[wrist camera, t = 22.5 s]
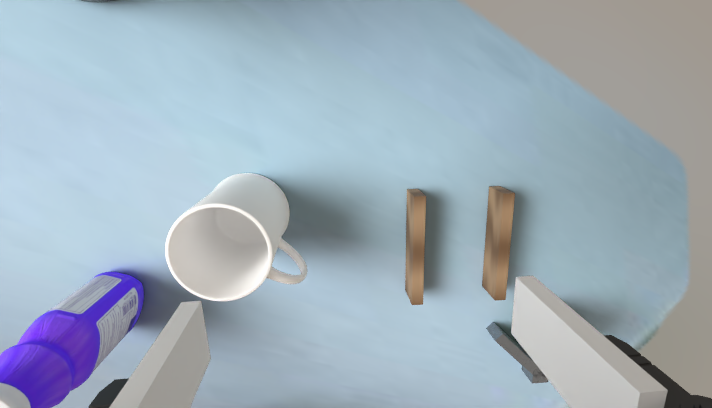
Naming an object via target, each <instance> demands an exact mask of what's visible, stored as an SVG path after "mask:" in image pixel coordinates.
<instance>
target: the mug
mask: <svg viewBox="0 0 712 408" xmlns="http://www.w3.org/2000/svg"><path fill="white" fill-rule="evenodd" d="M289 217H290V210H289V204H288V201H287V198H286V196H285V194H284V193H283V191H282V190H281V189H280V188H279V186H278V185H276V184H275V183H274V182H273V181H271V180H270V179H268V178H266V177H264V176H261V175H258V174H253V173H241V174H236V175H233V176H230V177H228V178H226V179H224V180H223V181H222V182H220V183H219V184H218V185H217V186H216V188H215V189H214V190H213V192H211V193H210V194H209V195H207V196H206V197H205V198H203V199H202V200H201V201H199V202H198V203H197V204H195V205H194V206H193V207H191V208H190V209H189V210H188V211H186V212H185V213H184V214H182V215H181V216H180V217H179V218H178V219H177V220H176V221H175V223H174V224H173V225H172V227H171V229H170V231H169V233H168V236H167V239H166V245H165V255H166V260H167V264H168V267H169V269H170V271H171V273H172V275H173V276H174V278H175V279H176V280H177V281H178V282H179V284H180V285H181V286H183V287H184V288H185V289H186V290H188V291H189V292H191V293H192V294H194V295H196V296H199V297H201V298H204V299H208V300H212V301H231V300H236V299H239V298H242V297H245V296H247V295H249V294H250V293H252V292H253V291H255V290H256V289H257V288H258V287H259V286H260V285H261V284H262V283H263V282H264V280H265V279H266V278H269V279H272V280H275V281H277V282H281V283H285V284H297V283H300V282H301V281H303V280H304V278H305V277H306V275H307V266H306V263H305V261H304V260H303V258H302V257H301V256H300V254H299V253H298V252H297V251H296V250H295V249H294V248H293V247H292V246H291V245H289V244H288V243H287V242H286V241H284V240H283V239H282V238H281V236H282V235H283V234H284V232H285V230H286V228H287V226H288V223H289ZM277 248H280V249H282V250H283V251H285V252H286V253H287V254H288V255H289V256H290V257H291V258H292V259H293V260H294V261H295V262H296V264H297V265H298V267H299V269H300V271H301V274H300V275H290V274H286V273H283V272H281V271H278V270H276V269H275V268H273V267H272V263H273V260H274V257H275V254H276V251H277Z"/></svg>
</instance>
